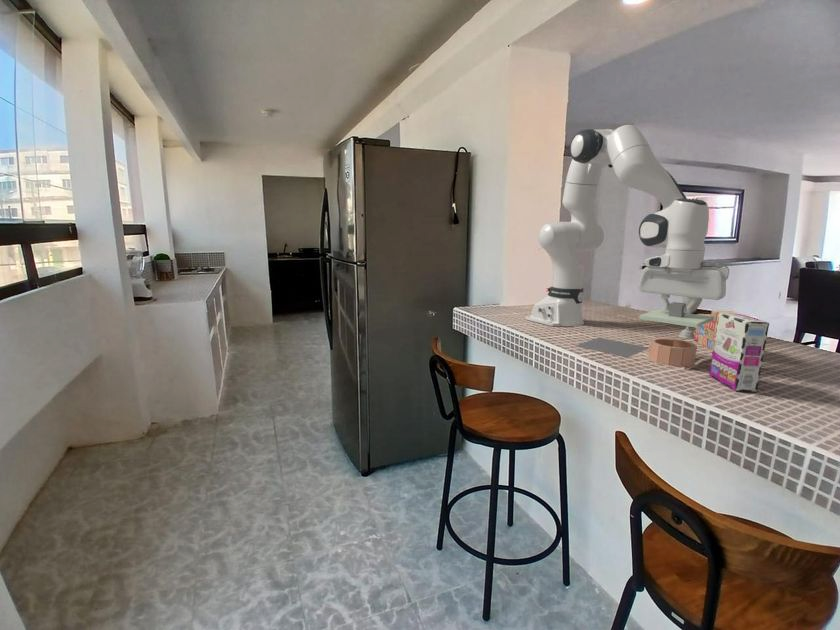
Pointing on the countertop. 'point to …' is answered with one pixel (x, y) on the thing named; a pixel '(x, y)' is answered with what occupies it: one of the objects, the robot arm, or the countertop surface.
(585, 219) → the robot arm
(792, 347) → the countertop surface
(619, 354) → the mat
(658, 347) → the bowl
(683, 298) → the chalice
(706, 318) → the lid
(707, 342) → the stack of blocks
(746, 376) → the candy bar box
